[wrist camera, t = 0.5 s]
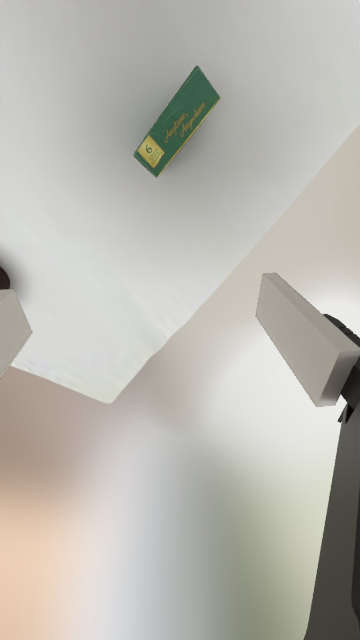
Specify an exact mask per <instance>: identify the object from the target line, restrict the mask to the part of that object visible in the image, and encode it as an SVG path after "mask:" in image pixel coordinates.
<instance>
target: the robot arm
mask: <svg viewBox="0 0 360 640" xmlns="http://www.w3.org/2000/svg"><path fill="white" fill-rule="evenodd" d="M256 318H257V319H258V321H259V322H260V324H261V325H262V326H263V328H264V330H265V331H266V333H267V334H268V336H269V337H270V339H271V340H272V342H273V343H274V345H275V346H276V348H277V349H278V351H279V352H280V354H281V355H282V357H283V358H284V360H285V361H286V363H287V364H288V366H289V367H290V369H291V370H292V372H293V373H294V375H295V376H296V377H297V379H298V380H299V382H300V384H301V385H302V386H303V388H304V390H305V391H306V392H307V394H308V395H309V397H310V399H311V400H312V401H313V403H314V404H315V406H316V407H323V406H332V405H336V402H337V400H338V398H339V396H340V394H341V395H342V396H343V398H344V399H345V400H346V401H347V404H346V406H345V408H344V410H343V412H342V414H341V416H340V417H339V419H338V422H340V423H341V422H342V424H341V430H340V436H339V442H338V448H337V454H336V461H335V466H334V473H333V478H332V485H331V491H330V496H329V503H328V508H327V515H326V521H325V527H324V533H323V539H322V545H321V551H320V557H319V563H318V569H317V575H316V581H315V587H314V593H313V600H312V605H311V611H310V617H309V623H308V628H307V631H306V635H305V637H304V640H360V338H359V337H358V336H357V335H356V334H353V332H352V331H351V330H350V329H349V328H346V326H345V325H344V324H343V323H341V322H340V321H339V320H338V319H336V318H334V317H332V316H330V315H328V314H321V313H320V312H319V311H318V310H317V309H316V308H315V307H314V306H313V305H311V304H310V303H309V302H308V301H307V300H306V299H305V298H303V296H301V295H300V294H299V293H298V292H297V291H296V290H295V289H294V288H292V287H291V286H290V285H289V284H288V283H287V282H286V281H285V280H284V279H282V278H281V277H280V276H279V275H278V274H277V273H265V274H262V280H261V287H260V292H259V299H258V305H257V310H256ZM32 333H33V332H32V330H31V328H30V326H29V323H28V321H27V319H26V316H25V314H24V312H23V309H22V307H21V305H20V302H19V300H18V298H17V295H16V293H15V291H14V289H7V290H0V379H1V377H2V376H3V374H4V373H5V372H6V370H7V369H8V367H9V366H10V364H11V363H12V362H13V360H14V359H15V357H16V356H17V354H18V353H19V352H20V350H21V349H22V347H23V346H24V344H25V343H26V341H27V340H28V339H29V337H30V336H31V334H32Z"/></svg>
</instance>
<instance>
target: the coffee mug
mask: <svg viewBox="0 0 360 640" xmlns="http://www.w3.org/2000/svg"><path fill="white" fill-rule="evenodd" d="M9 287H10V281H9V278H8V275H7V274H6V272H5V271H4V270H3V269H2V268H1V267H0V290H7V289H9Z"/></svg>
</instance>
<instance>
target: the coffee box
mask: <svg viewBox="0 0 360 640" xmlns="http://www.w3.org/2000/svg"><path fill="white" fill-rule="evenodd" d="M219 99H220V97H219V95H218V94H217V92H216V91H215V90H214V88H213V87H212V85H211V84H210V82H209V81H208V80H207V78H206V77H205V75H204V74H203V72H202V71H201V69H200V68H199V66H196V67H195V68H194V70H193V71H192V72H191V74H190V75H189V77H188V78H187V79H186V81H185V82H184V83H183V85H182V86H181V88H180V89H179V91H178V92H177V93H176V95H175V96H174V98H173V99H172V100H171V102H170V103H169V105H168V106H167V107H166V109H165V110H164V112H163V113H162V114H161V116H160V117H159V118H158V120H157V121H156V123H155V124H154V126H153V127H152V129H151V130H150V131H149V133H148V134H147V136H146V137H145V138H144V140H143V141H142V143H141V144H140V146H139V147H138V148H137V150H136V151H135V153H134V157H135V158H136V159H137V160H138V161H139V162H140V163H141V164H142V165H143V166H144V167H145V168H146V169H147V170H149V171H150V172H151V173H152V174H153V175H154V176H155V177H158V176H159V175H160V174H161V173H162V171H163V170H164V169H165V168H166V166H167V165H168V164H169V163H170V162H171V160H172V159H173V158H174V157H175V155H176V154H177V153H178V152H179V151H180V149H181V148H182V147H183V146H184V145H185V143H186V142H187V141H188V140H189V138H190V137H191V136H192V135H193V133H194V132H195V131H196V129H197V128H198V127H199V126H200V124H201V123H202V122H203V121H204V119H205V118H206V117H207V115H208V114H209V113H210V111H211V110H212V109H213V108H214V106H215V105H216V104H217V102H218V101H219Z"/></svg>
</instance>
